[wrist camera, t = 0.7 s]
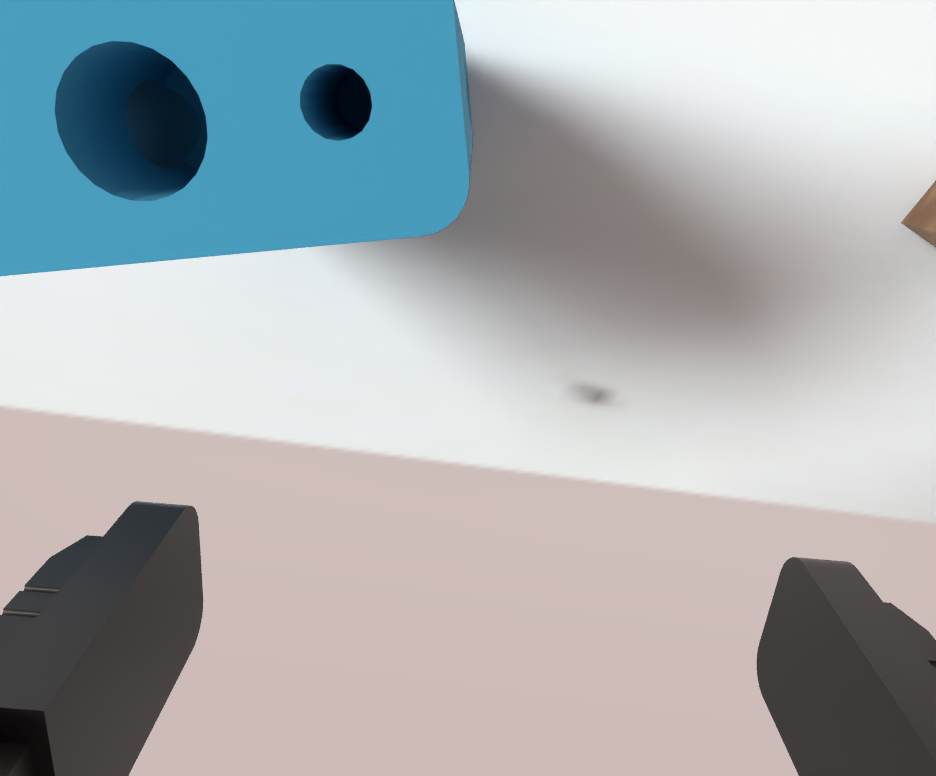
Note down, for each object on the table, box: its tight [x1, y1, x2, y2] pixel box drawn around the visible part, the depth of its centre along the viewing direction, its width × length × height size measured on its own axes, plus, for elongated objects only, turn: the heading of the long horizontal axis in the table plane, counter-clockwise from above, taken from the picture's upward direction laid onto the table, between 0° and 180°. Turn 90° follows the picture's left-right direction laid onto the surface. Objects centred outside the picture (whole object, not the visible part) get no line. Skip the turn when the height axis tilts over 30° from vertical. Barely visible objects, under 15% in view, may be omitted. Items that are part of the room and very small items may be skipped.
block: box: [0, 0, 473, 276], centre depth 23 cm, size 12×5×20 cm, turn 95°
